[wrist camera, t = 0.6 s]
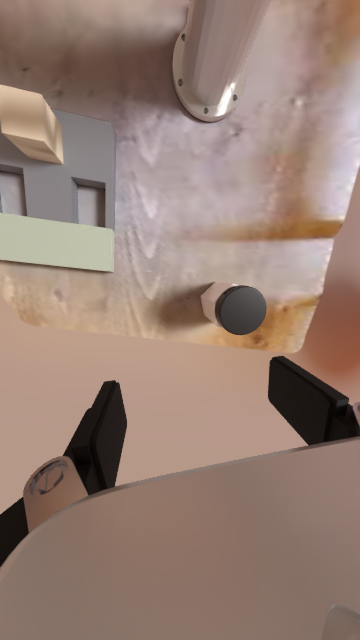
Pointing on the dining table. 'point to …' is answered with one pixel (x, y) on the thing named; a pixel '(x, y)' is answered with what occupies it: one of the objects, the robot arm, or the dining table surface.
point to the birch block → (30, 124)
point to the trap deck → (62, 198)
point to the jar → (234, 307)
